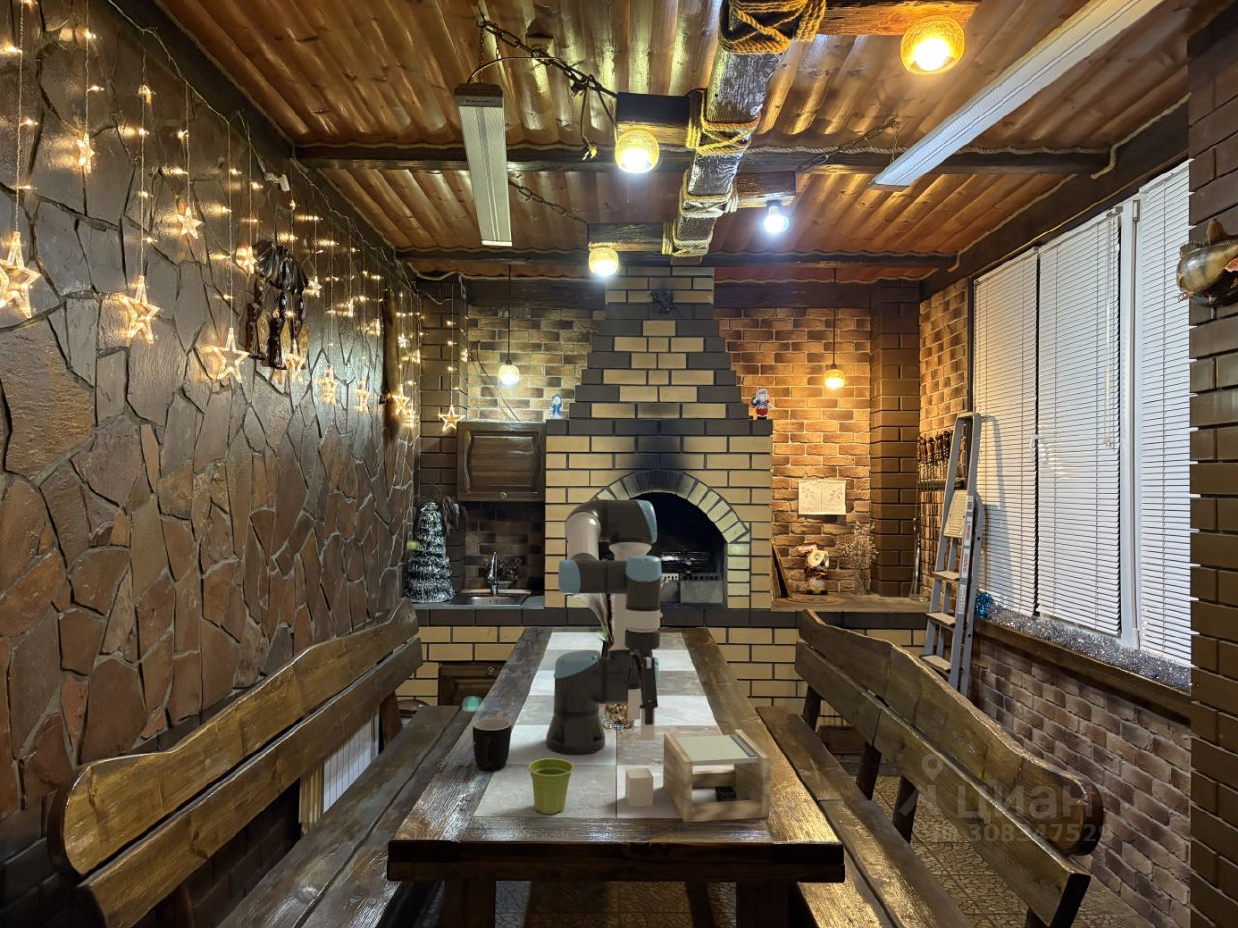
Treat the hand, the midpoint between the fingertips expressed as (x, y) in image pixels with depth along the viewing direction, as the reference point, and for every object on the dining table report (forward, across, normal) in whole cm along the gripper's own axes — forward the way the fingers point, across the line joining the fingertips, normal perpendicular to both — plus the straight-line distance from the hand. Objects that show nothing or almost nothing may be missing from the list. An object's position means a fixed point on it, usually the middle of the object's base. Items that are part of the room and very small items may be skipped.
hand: (640, 728), depth 165 cm
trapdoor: (+5, -2, -16) cm, 17 cm away
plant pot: (+16, -1, +19) cm, 25 cm away
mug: (+16, +22, +31) cm, 41 cm away
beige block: (+16, 0, 0) cm, 16 cm away
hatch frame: (+15, -2, -16) cm, 22 cm away
